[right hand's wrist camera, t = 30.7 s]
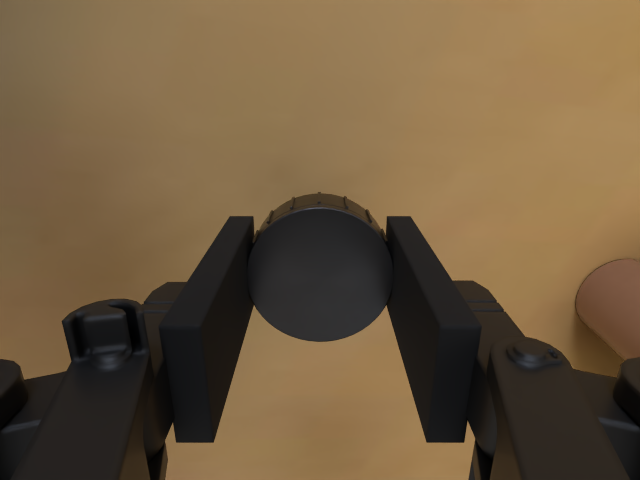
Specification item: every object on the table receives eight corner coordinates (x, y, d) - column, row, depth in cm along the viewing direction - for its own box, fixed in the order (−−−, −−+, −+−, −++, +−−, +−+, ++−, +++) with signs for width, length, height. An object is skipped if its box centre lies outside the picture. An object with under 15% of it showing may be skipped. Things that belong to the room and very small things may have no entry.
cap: (223, 254, 14) (211, 275, 13) (323, 161, 13) (323, 172, 12) (316, 339, 15) (316, 367, 14) (416, 260, 14) (426, 281, 13)
